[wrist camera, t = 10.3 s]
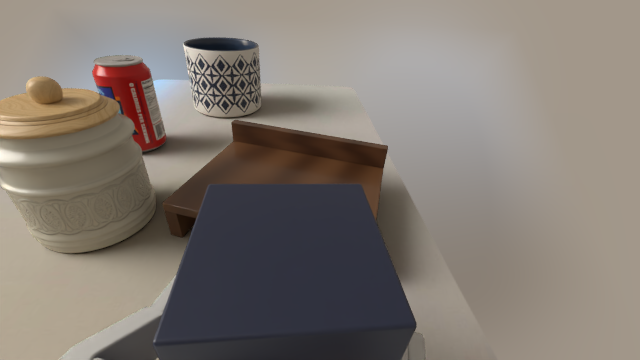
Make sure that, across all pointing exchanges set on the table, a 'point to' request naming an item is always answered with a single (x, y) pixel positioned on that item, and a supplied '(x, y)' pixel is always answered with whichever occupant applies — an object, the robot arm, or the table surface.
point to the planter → (224, 76)
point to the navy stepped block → (285, 279)
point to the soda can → (132, 96)
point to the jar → (73, 167)
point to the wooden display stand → (279, 167)
